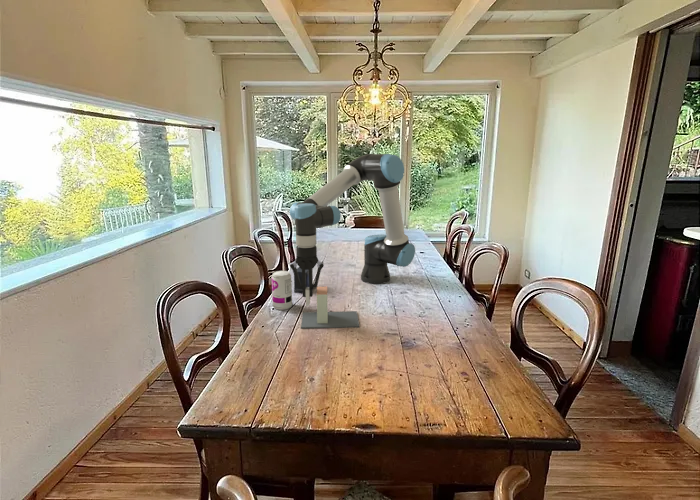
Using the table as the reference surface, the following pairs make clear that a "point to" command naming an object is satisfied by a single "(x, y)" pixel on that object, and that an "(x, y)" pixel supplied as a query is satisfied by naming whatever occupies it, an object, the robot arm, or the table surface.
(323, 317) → the slab
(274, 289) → the supplement can
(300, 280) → the small box
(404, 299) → the table surface
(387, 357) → the table surface
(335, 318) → the mat
